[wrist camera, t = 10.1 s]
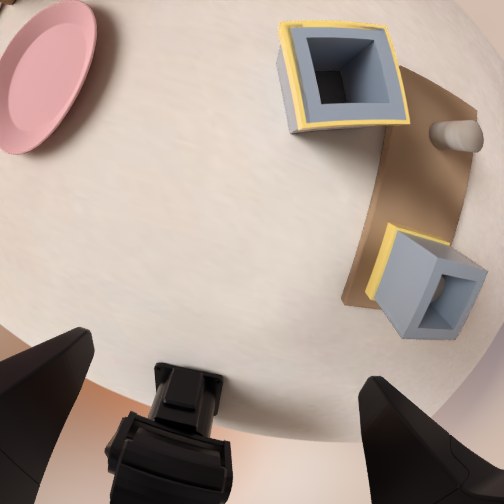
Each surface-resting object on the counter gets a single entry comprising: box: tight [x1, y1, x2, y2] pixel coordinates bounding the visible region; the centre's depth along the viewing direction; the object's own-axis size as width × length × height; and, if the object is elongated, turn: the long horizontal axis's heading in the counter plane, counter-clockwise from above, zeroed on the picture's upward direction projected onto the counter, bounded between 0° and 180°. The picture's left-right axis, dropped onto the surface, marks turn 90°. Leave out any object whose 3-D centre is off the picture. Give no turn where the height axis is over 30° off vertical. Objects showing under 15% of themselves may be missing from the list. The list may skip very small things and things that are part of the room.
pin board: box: [341, 66, 484, 310], centre depth 15 cm, size 18×8×5 cm, turn 170°
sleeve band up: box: [276, 21, 410, 133], centre depth 12 cm, size 5×5×6 cm
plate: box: [0, 0, 97, 155], centre depth 13 cm, size 14×14×2 cm
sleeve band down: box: [365, 222, 488, 340], centre depth 15 cm, size 5×5×6 cm
